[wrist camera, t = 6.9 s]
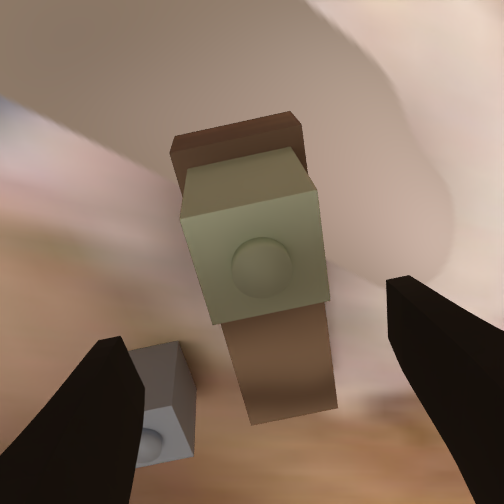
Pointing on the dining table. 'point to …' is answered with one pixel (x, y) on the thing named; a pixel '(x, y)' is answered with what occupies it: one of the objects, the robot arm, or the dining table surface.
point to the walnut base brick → (278, 323)
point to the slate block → (165, 404)
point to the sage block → (255, 235)
